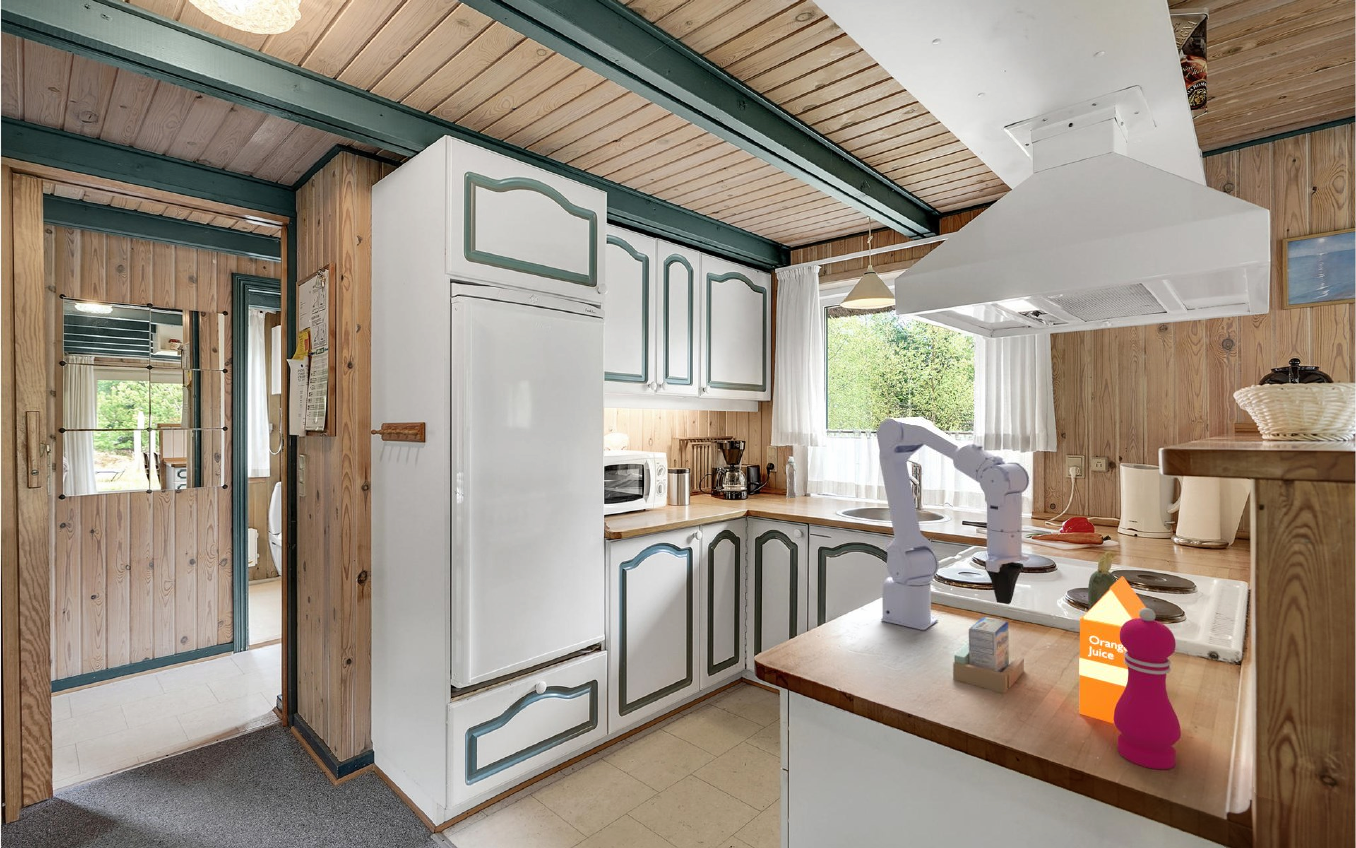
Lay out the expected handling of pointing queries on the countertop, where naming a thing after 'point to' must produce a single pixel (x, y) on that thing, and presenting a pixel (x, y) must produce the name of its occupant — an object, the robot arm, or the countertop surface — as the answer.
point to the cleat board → (985, 672)
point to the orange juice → (1105, 651)
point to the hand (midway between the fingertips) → (1003, 602)
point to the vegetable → (1101, 579)
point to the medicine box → (989, 644)
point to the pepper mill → (1147, 694)
